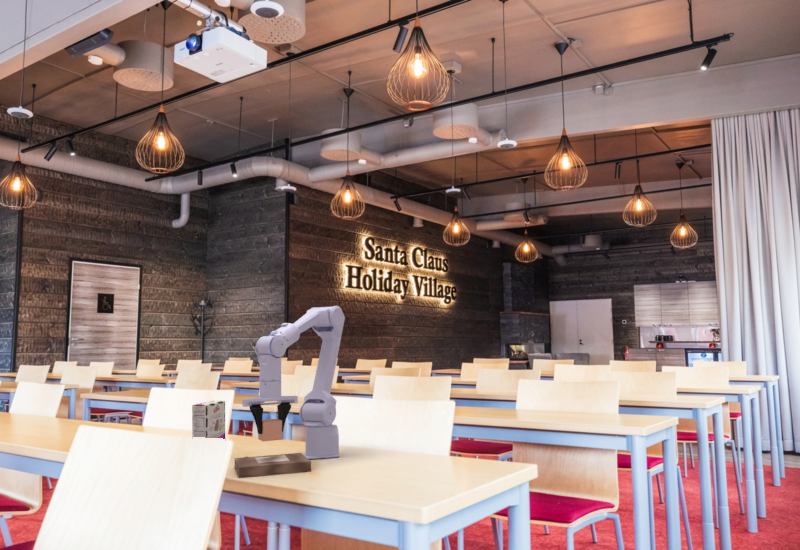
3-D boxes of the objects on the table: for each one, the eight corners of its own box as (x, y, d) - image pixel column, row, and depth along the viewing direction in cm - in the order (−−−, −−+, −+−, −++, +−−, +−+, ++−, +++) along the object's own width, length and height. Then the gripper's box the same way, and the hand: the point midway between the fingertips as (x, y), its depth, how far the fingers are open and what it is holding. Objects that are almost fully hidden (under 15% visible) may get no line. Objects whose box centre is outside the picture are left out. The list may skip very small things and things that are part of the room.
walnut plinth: (301, 462, 173) (301, 452, 173) (310, 471, 160) (310, 460, 160) (234, 467, 167) (234, 457, 167) (238, 477, 154) (239, 466, 154)
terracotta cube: (276, 437, 169) (276, 418, 169) (282, 439, 164) (281, 420, 165) (258, 439, 166) (258, 420, 167) (263, 441, 162) (263, 421, 162)
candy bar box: (210, 456, 186) (211, 400, 188) (225, 456, 185) (226, 400, 187) (190, 463, 175) (191, 404, 177) (207, 463, 174) (207, 404, 176)
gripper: (291, 378, 173) (292, 428, 172) (239, 381, 167) (239, 433, 165) (300, 379, 167) (300, 431, 166) (246, 382, 161) (246, 436, 159)
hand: (270, 432), depth 165 cm, fingers closed on terracotta cube, 5 cm apart
